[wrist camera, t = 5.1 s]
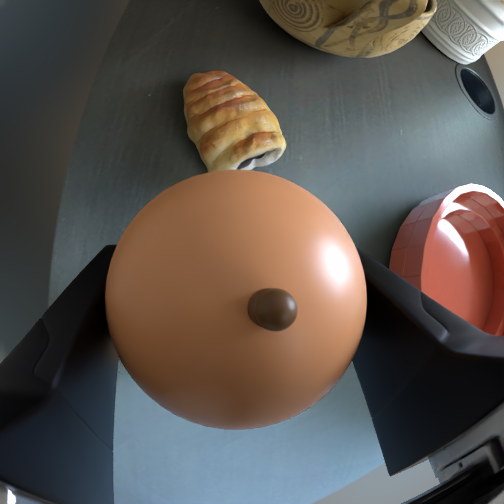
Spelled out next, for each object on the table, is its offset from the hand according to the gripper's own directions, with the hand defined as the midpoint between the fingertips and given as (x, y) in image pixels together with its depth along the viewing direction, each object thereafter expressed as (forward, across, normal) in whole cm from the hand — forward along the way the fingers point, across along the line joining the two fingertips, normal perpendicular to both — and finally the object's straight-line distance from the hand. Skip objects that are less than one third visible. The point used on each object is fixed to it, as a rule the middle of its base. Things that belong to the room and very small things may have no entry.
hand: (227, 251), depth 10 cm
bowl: (+7, -24, +12) cm, 27 cm away
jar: (+33, -35, -14) cm, 50 cm away
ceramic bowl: (+27, -12, -8) cm, 31 cm away
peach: (+1, 0, +3) cm, 3 cm away
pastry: (+17, -2, +2) cm, 17 cm away
